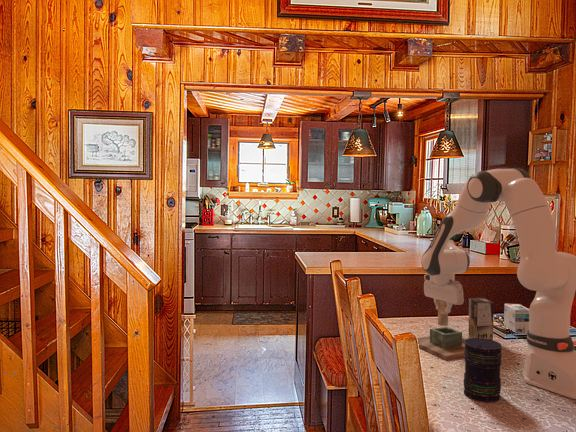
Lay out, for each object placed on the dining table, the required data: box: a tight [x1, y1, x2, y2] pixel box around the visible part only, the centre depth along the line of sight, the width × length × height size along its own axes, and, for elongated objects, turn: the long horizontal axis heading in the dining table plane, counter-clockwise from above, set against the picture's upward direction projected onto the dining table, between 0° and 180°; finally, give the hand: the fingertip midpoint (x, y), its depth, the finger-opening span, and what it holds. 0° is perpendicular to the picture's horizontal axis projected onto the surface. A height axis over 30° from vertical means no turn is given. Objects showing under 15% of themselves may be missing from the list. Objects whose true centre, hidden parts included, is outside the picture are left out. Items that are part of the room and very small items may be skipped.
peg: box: [437, 300, 449, 327], centre depth 198 cm, size 4×4×10 cm
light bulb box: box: [503, 303, 530, 335], centre depth 196 cm, size 11×7×11 cm, turn 179°
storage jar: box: [463, 338, 503, 403], centre depth 135 cm, size 10×10×15 cm
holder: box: [416, 326, 465, 361], centre depth 176 cm, size 20×18×6 cm
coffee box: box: [468, 297, 495, 341], centre depth 184 cm, size 9×6×16 cm
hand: (443, 311), depth 198 cm, fingers closed on peg, 4 cm apart
